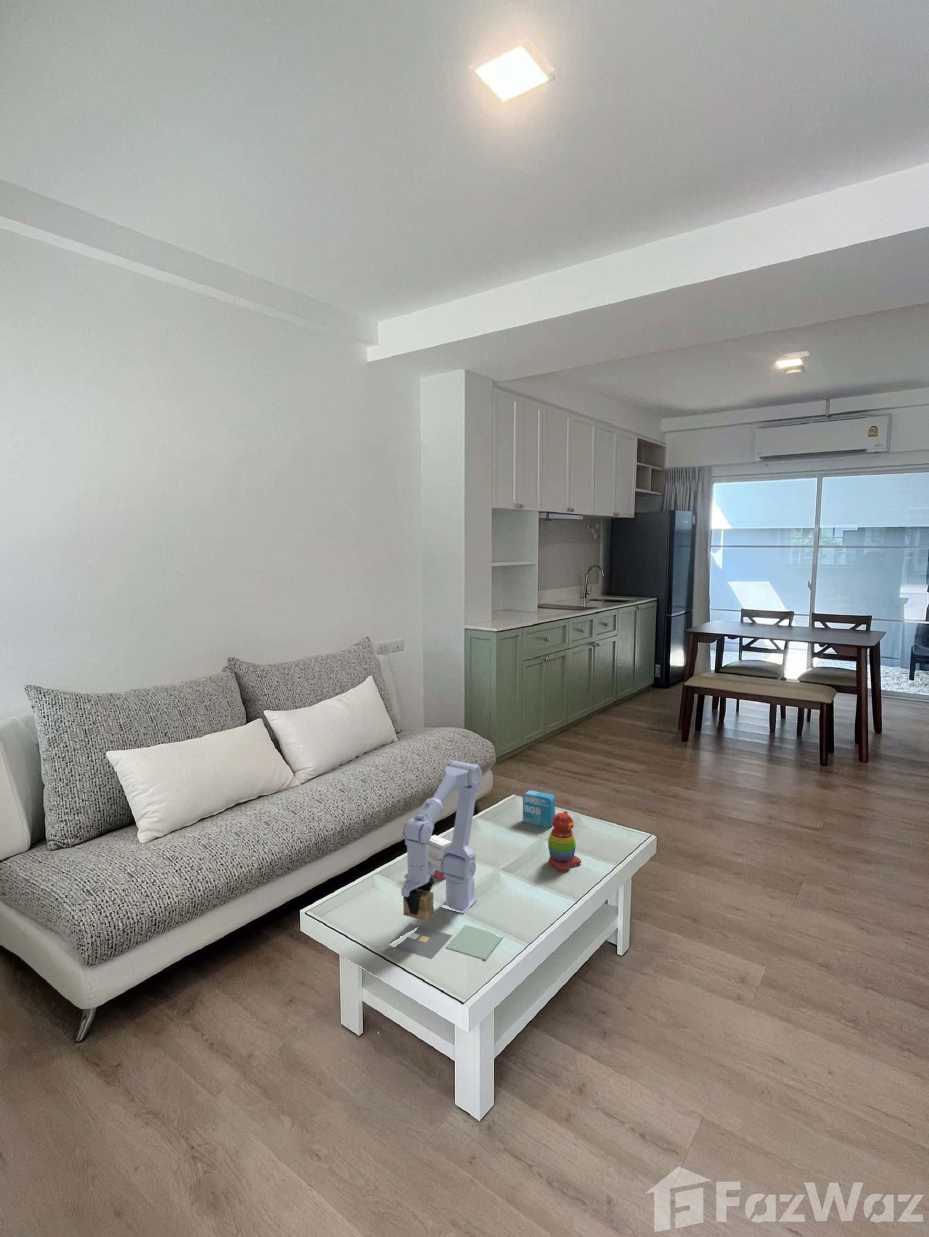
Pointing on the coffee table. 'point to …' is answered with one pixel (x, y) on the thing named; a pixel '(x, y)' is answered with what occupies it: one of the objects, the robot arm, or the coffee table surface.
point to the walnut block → (421, 906)
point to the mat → (474, 942)
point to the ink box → (436, 853)
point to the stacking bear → (562, 843)
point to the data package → (538, 808)
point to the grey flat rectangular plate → (422, 941)
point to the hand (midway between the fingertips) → (418, 909)
